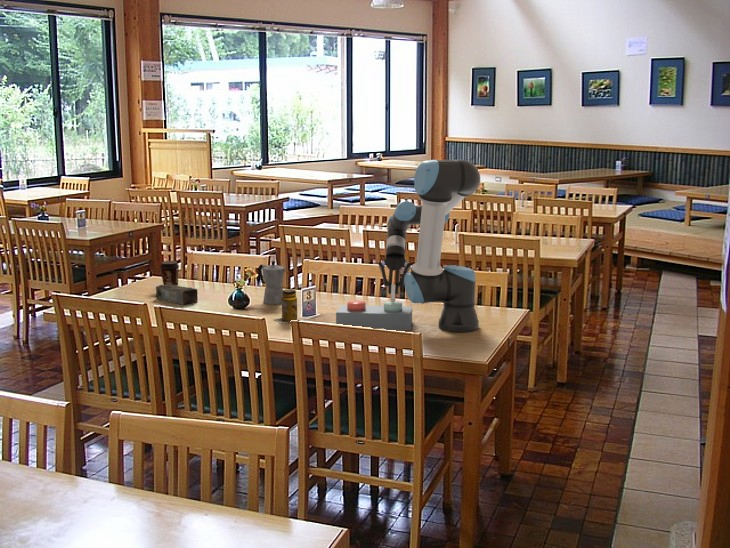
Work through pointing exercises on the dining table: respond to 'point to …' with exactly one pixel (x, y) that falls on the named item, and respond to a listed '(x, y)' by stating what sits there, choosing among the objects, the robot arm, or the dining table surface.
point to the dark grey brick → (176, 294)
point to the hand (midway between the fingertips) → (392, 300)
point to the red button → (356, 305)
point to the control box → (375, 317)
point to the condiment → (288, 306)
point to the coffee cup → (169, 272)
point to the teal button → (392, 306)
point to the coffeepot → (272, 282)
